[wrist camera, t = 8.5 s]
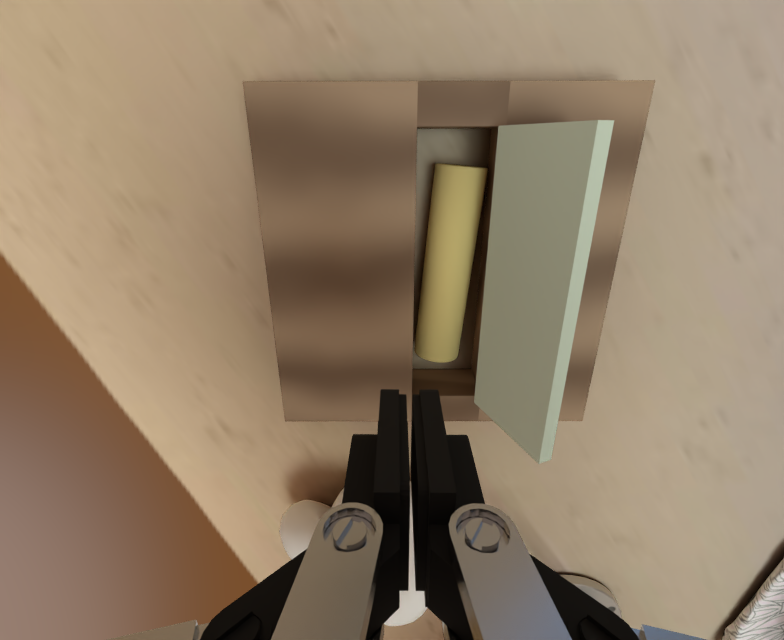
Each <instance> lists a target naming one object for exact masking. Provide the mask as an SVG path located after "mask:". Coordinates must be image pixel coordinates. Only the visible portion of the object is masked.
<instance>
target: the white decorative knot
mask: <svg viewBox="0 0 784 640" xmlns="http://www.w3.org/2000/svg"><path fill="white" fill-rule="evenodd" d="M343 492H344V488H343V490H342V491H341V492H340V494H339V495H338V497H337V498H336V500H335V502H334V504H333V505H332V507H329V506H328V505H326V504H323V503H320V502H316V501H312V500H302V501H299V502H297V503H294V504H292V505H291V506H290V507H289V508H288V510H287V511H286V512H285V513H284V514H283V516H282V520H281V525H280V530H279V532H280V536H281V540H282V543H283V546H284V549H285V550H286V552H287V554H288V556H289V557H290V558H291V559H293V558H295V557H296V556H297V555H299V554H300V553H302V552H303V551H304V550H306V549H307V548H308V545H309V543H310V540H311V538H312V535H313V533H314V530H315V528H316V525H317V523H318V522H319V520H320V518H321V517H322V515H324V514H325V513H326V512H327V511H328V510H329V509H331V508H333V507H335V506H337V505H340V504H342V498H343ZM427 608H428V607H425V596H424V591H416V588H415V565H414V542H413V518H412V494H411V482H410V534H409V589H408V591H400V608H399V609H398V610H397V611H396V612H395V613H394V614H393V615H392V616H391V617H390V618H389V619H388V620H387V621H386V622H385V623H384V625H388V626H401V625H406V624H409V623H412V622H414V621H415V620H417V619H418V618H419V617H421V616H422V615H423V613H424V612H425V611H426V609H427Z"/></svg>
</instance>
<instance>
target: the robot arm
mask: <svg viewBox="0 0 784 640" xmlns="http://www.w3.org/2000/svg"><path fill="white" fill-rule="evenodd" d="M411 494H412V518H413V542H414V565H415V588H416V591H424V596H425V607H428V608H429V609H430V610H431V611H432V612H433V613H434V614H435V615H436V616H437V617H438V618H439V619H440V620H441V621H442V626H443V635H444V639H445V640H706V639H702V638H698V637H693V636H689V635H685V634H681V633H677V632H672V631H668V630H664V629H660V628H655V627H651V626H647V625H643V624H642V627H641V630H638V629H634V628H631V627H630V626H629V625H628V624H627V623H626V622H625V621H624V620H622V615H621V610H620V608H619V606H618V603H617V601H616V599H615V598H614V596H613V594H612V593H611V592H610V591H609V590H608V589H607V588H606V587H605V586H603V585H601V584H600V583H598V582H596V581H594V580H591V579H588V578H585V577H581V576H575V575H559V574H558V573H556V572H555V571H553V570H552V569H550V568H549V567H548V566H546V565H545V564H543V563H542V562H540V561H539V560H537V559H536V558H535V557H533V556H532V555H530V554H529V552H528V550H527V548H526V546H525V544H524V542H523V540H522V538H521V536H520V534H519V532H518V530H517V528H516V526H515V525H514V523H513V522H512V520H511V519H510V518H509V517H508V516H507V515H506V514H505V513H503V512H502V511H501V510H499V509H497V508H495V507H493V506H490V505H486V504H485V502H484V498H483V494H482V490H481V487H480V483H479V479H478V475H477V471H476V467H475V463H474V459H473V455H472V451H471V447H470V443H469V439H468V436H467V435H446V430H445V425H444V419H443V413H442V407H441V402H440V396H439V391H438V389H420V390H419V394H412V429H411ZM409 534H410V473H409V447H408V422H407V396H406V394H399V389H381V391H380V405H379V420H378V434H377V435H374V434H353V436H352V442H351V448H350V454H349V461H348V467H347V473H346V479H345V486H344V492H343V498H342V504H340V505H337V506H335V507H333V508H331V509H329V510H328V511H327V512H326V513H325V514H324V515H322V517H321V518H320V520H319V522H318V523H317V525H316V528H315V530H314V533H313V535H312V538H311V540H310V543H309V545H308V548H307V549H306V550H304V551H303V552H302V553H300V554H299V555H297V556H296V557H295V558H293V559H292V560H291V561H289V562H288V563H286V564H285V565H284V566H282V567H281V568H280V569H278V570H277V571H275V572H274V573H273V574H271V575H270V576H269V577H267V578H266V579H264V580H263V581H262V582H260V583H259V584H258V585H256V586H255V587H253V588H252V589H251V590H249V591H248V592H247V593H245V594H244V595H242V596H241V597H240V598H238V599H237V600H236V601H234V602H233V603H231V604H230V605H229V606H227V607H226V608H224V609H223V610H222V611H221V612H220V613H219V614H218V615H216V616H215V617H214V618H213V619H212V620H211V622H210V623H207V624H202V625H198V624H197V620H193V621H189V622H184V623H179V624H175V625H171V626H166V627H162V628H157V629H153V630H148V631H144V632H139V633H135V634H130V635H126V636H121V637H117V638H113V639H108V640H383V636H384V623H385V622H386V621H387V620H388V619H389V618H390V617H391V616H392V615H393V614H394V613H395V612H396V611H397V610H398V609H399V608H400V591H408V589H409Z"/></svg>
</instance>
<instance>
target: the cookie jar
mask: <svg viewBox="0 0 784 640" xmlns="http://www.w3.org/2000/svg"><path fill="white" fill-rule="evenodd" d="M722 640H784V558H783V560H782V561H781V562H780V563H779V565H778V566H777V567H776V568H775V569H774V571H773V572H772V573H771V574H770V575H769V577H768V578H767V579H766V581H765V582H764V583H763V585H762V586H761V587H760V588H759V590H758V591H757V592H756V594H755V595H754V596H753V598H752V599H751V600H750V601H749V603H748V604H747V605H746V606H745V608H744V609H743V610H742V612H741V613H740V614H739V616H738V617H737V618H736V620H735V621H734V622H733V623H732V624H730V625H729V626H728V627H727V628H725V631H724V634H723V638H722Z"/></svg>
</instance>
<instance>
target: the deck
mask: <svg viewBox="0 0 784 640" xmlns="http://www.w3.org/2000/svg"><path fill="white" fill-rule="evenodd" d="M654 84H655V80H629V81H259V82H243V87H244V95H245V103H246V111H247V119H248V127H249V135H250V143H251V151H252V159H253V167H254V175H255V183H256V191H257V200H258V208H259V216H260V224H261V232H262V240H263V248H264V256H265V264H266V272H267V280H268V288H269V296H270V304H271V312H272V320H273V328H274V336H275V344H276V352H277V360H278V368H279V376H280V384H281V392H282V400H283V408H284V416H285V421H378V420H379V405H380V391H381V389H399V394H406V396H407V421H412V394H419V390H420V389H438V391H439V396H440V402H441V407H442V413H443V419H444V421H493V420H492V419H491V418H490V417H489V416H488V415H487V414H486V413H485V412H484V411H482V410H481V409H480V408H479V407H478V406H477V405H476V404H475V403H474V397H475V386H476V374H477V363H478V352H479V341H480V329H481V318H482V307H483V296H484V284H485V273H486V262H487V251H488V239H489V228H490V217H491V206H492V194H493V183H494V172H495V161H496V149H497V138H498V127H499V126H503V125H520V124H538V123H555V122H573V121H590V120H614V124H613V130H612V135H611V141H610V146H609V151H608V157H607V162H606V167H605V173H604V178H603V183H602V189H601V194H600V199H599V205H598V210H597V216H596V221H595V226H594V232H593V237H592V242H591V248H590V253H589V258H588V264H587V269H586V274H585V280H584V285H583V291H582V296H581V301H580V307H579V312H578V317H577V323H576V328H575V333H574V339H573V344H572V349H571V355H570V360H569V366H568V371H567V376H566V382H565V387H564V392H563V398H562V403H561V408H560V414H559V419H558V421H582V420H583V415H584V411H585V406H586V401H587V397H588V392H589V387H590V383H591V378H592V373H593V369H594V364H595V359H596V355H597V350H598V345H599V341H600V336H601V331H602V327H603V322H604V317H605V313H606V308H607V303H608V299H609V294H610V289H611V285H612V280H613V275H614V271H615V266H616V261H617V257H618V252H619V247H620V243H621V238H622V233H623V229H624V224H625V219H626V215H627V210H628V205H629V201H630V196H631V191H632V187H633V182H634V177H635V173H636V168H637V163H638V159H639V154H640V149H641V145H642V140H643V135H644V130H645V126H646V121H647V116H648V112H649V107H650V102H651V98H652V93H653V88H654ZM459 128H491V137H490V149H489V161H488V173H487V185H486V198H485V210H484V222H483V234H482V246H481V258H480V270H479V282H478V294H477V306H476V318H475V330H474V342H473V355H472V367H471V369H412V360H413V309H414V257H415V205H416V153H417V129H459Z"/></svg>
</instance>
